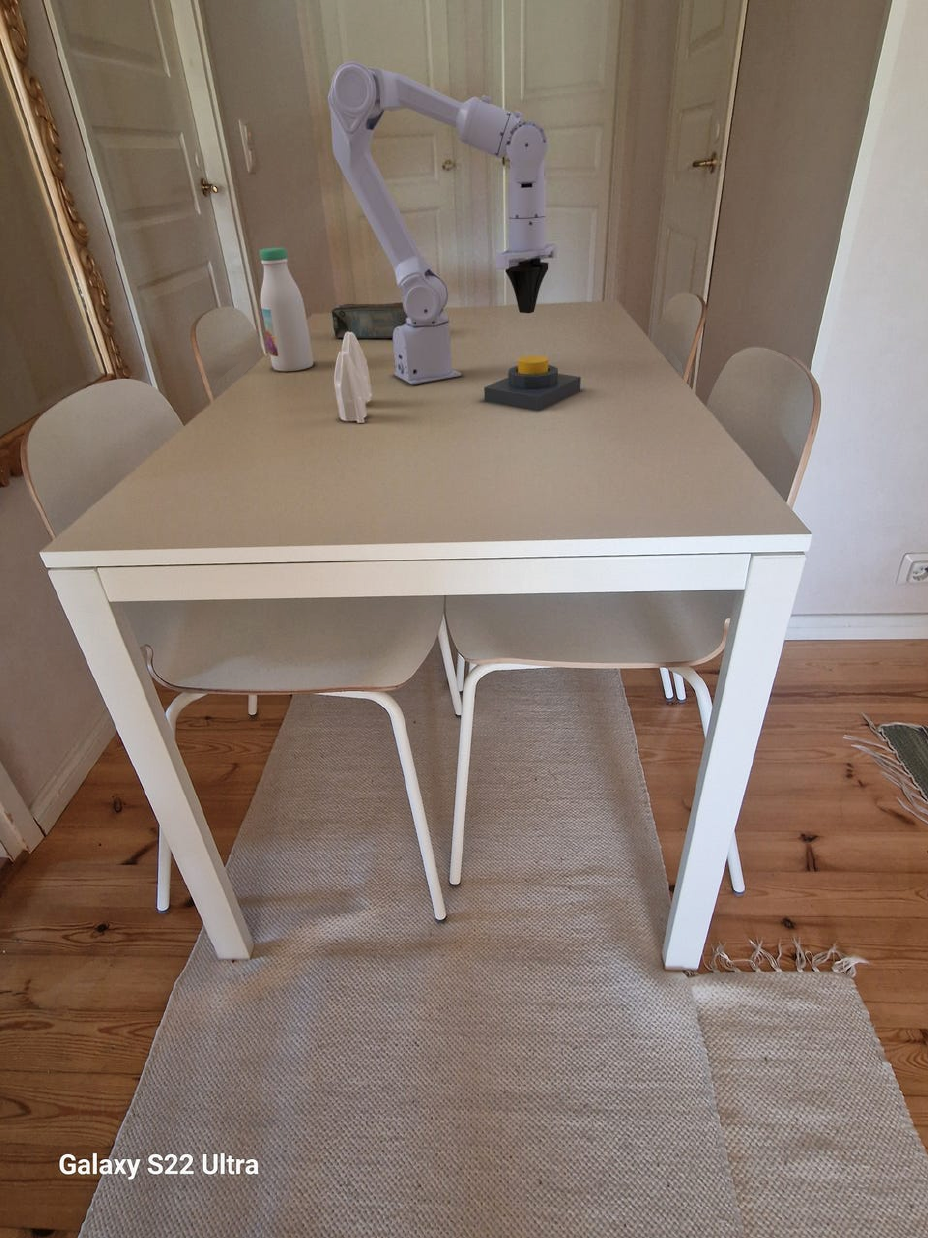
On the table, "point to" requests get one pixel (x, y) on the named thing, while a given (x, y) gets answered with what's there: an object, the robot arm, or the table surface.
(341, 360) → the white pointed piece
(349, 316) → the beverage carton
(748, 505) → the table surface
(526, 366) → the button
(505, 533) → the table surface
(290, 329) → the milk bottle
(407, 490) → the table surface
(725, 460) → the table surface
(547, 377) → the grey button base
